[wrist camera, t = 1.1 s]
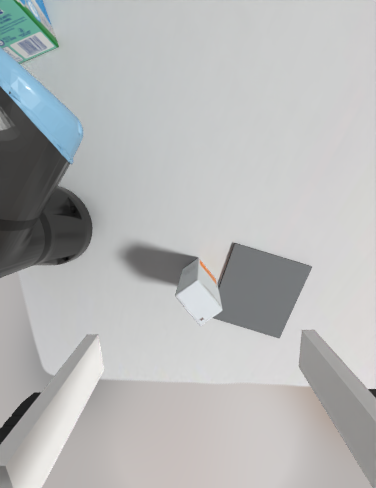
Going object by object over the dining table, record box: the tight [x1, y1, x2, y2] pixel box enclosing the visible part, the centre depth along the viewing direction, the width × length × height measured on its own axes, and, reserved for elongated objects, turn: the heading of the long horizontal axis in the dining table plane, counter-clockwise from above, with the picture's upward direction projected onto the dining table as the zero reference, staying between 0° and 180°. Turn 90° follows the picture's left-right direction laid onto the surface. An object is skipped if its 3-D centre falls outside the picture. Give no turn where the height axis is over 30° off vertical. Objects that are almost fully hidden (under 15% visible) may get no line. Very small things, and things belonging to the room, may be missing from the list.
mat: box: [213, 243, 312, 338], centre depth 39 cm, size 15×16×1 cm
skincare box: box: [175, 258, 222, 326], centre depth 34 cm, size 6×4×12 cm
